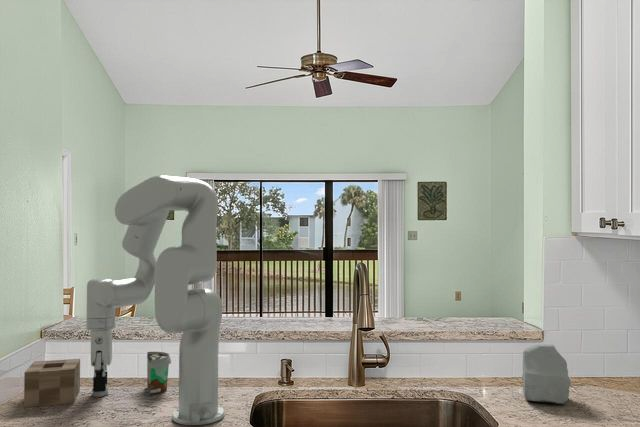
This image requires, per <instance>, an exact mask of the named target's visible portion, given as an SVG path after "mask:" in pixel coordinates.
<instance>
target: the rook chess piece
mask: <svg viewBox="0 0 640 427" xmlns="http://www.w3.org/2000/svg"><path fill="white" fill-rule="evenodd" d="M107 368H108V367H107ZM107 368H106V367H105V372H107V371H106V369H107ZM101 369H102V370H103V367H102V368H101ZM105 375H106V374H105ZM91 391H92V393H91V395H92V396H93V397H95V398H97V397H104V396H105V395H106V396H107V395H108V394H109V393H110V391H109V386H108V384H107V385H106V390H105V391H101V392H93V388H92V390H91ZM106 396H105V397H106Z"/></svg>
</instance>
